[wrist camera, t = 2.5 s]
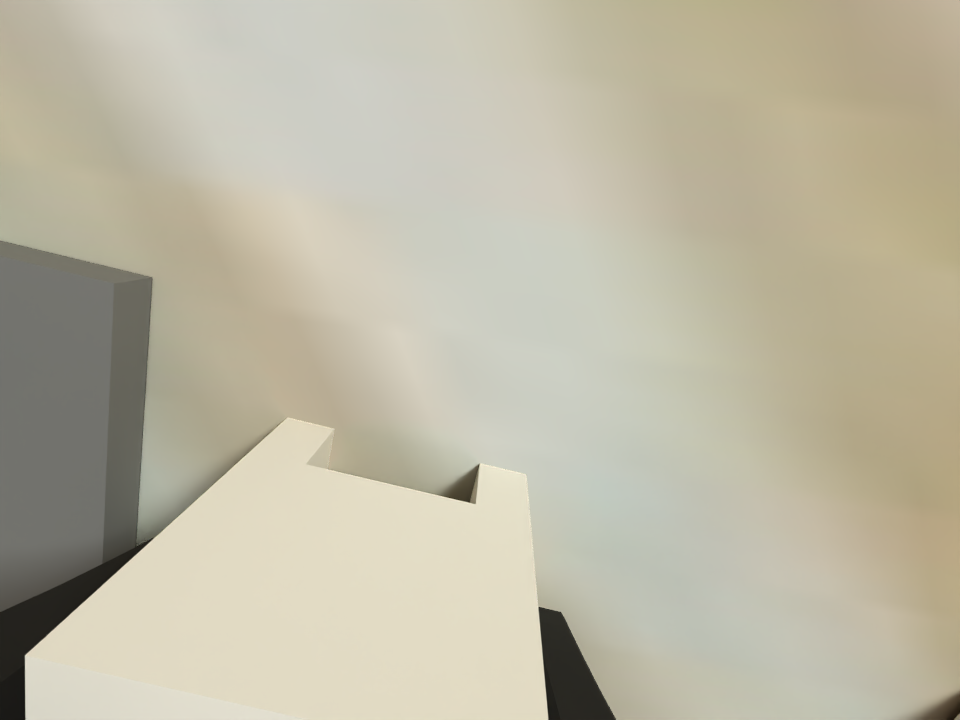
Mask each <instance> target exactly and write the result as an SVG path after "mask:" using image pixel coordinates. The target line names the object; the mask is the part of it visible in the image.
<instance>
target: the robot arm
mask: <svg viewBox="0 0 960 720" xmlns="http://www.w3.org/2000/svg"><path fill="white" fill-rule="evenodd" d="M153 539H154V538H153ZM153 539H151V540H149V541H147V542H145V543H143V544H141V545H139V546H137V547H135V548H133V549H131V550H129V551H127V552H125V553H123V554H121V555H119V556H117V557H115V558H113V559H111V560H109V561H107V562H105V563H103V564H101V565H99V566H97V567H95V568H93V569H91V570H89V571H87V572H85V573H83V574H81V575H79V576H77V577H75V578H73V579H71V580H69V581H67V582H65V583H63V584H61V585H58V586H56V587H54V588H52V589H50V590H48V591H45V592H43V593H41V594H39V595H37V596H34V597H32V598H30V599H28V600H26V601H23V602H21V603H19V604H17V605H15V606H12V607H10V608H8V609H6V610H3V611H1V612H0V720H25V655H26V654H27V653H28V652H29V651H31V650H32V649H33V648H34V647H35V646H36V645H37V644H38V643H39V642H40V641H42V640H43V639H44V638H45V637H46V636H47V635H48V634H49V633H50V632H51V631H53V630H54V629H55V628H56V627H57V626H58V625H59V624H60V623H61V622H62V621H64V620H65V619H66V618H67V617H68V616H69V615H70V614H71V613H72V612H74V611H75V610H76V609H77V608H78V607H79V606H80V605H81V604H82V603H83V602H85V601H86V600H87V599H88V598H89V597H90V596H91V595H92V594H93V593H94V592H96V591H97V590H98V589H99V588H100V587H101V586H102V585H103V584H104V583H105V582H107V581H108V580H109V579H110V578H111V577H112V576H113V575H114V574H115V573H117V572H118V571H119V570H120V569H121V568H122V567H123V566H124V565H125V564H126V563H128V562H129V561H130V560H131V559H132V558H133V557H134V556H135V555H136V554H137V553H139V552H140V551H141V550H142V549H143V548H144V547H145V546H146V545H147V544H148V543H150V542H151V541H152V540H153ZM538 609H539V621H540V632H541V643H542V654H543V665H544V676H545V688H546V699H547V710H548V720H616V718H615V717H614V715H613V713H612V711H611V709H610V707H609V706H608V704H607V702H606V700H605V698H604V696H603V695H602V693H601V691H600V689H599V687H598V685H597V683H596V681H595V679H594V677H593V675H592V673H591V671H590V669H589V667H588V665H587V663H586V661H585V660H584V657H583V655H582V653H581V651H580V649H579V647H578V645H577V643H576V641H575V639H574V637H573V635H572V633H571V631H570V629H569V627H568V625H567V622H566V620H565V618H564V617H563V615H562V613H561V612H558V611H554V610H549V609H545V608H541V607H538Z"/></svg>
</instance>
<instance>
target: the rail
mask: <svg viewBox="0 0 960 720" xmlns="http://www.w3.org/2000/svg"><path fill="white" fill-rule="evenodd" d="M151 290H152V277H148V276H144V275H140V274H136V273H132V272H128V271H123V270H119V269H115V268H111V267H107V266H103V265H99V264H94V263H90V262H86V261H82V260H78V259H74V258H70V257H66V256H61V255H57V254H53V253H49V252H45V251H41V250H37V249H32V248H28V247H24V246H20V245H16V244H12V243H8V242H3V241H0V612H1V611H3V610H6V609H8V608H10V607H12V606H15V605H17V604H19V603H21V602H23V601H26V600H28V599H30V598H32V597H34V596H37V595H39V594H41V593H43V592H45V591H48V590H50V589H52V588H54V587H56V586H58V585H61V584H63V583H65V582H67V581H69V580H71V579H73V578H75V577H77V576H79V575H81V574H83V573H85V572H87V571H89V570H91V569H93V568H95V567H97V566H99V565H101V564H103V563H105V562H107V561H109V560H111V559H113V558H115V557H117V556H119V555H121V554H123V553H125V552H127V551H129V550H131V549H133V548H135V547H136V531H137V515H138V499H139V483H140V467H141V451H142V435H143V419H144V402H145V386H146V370H147V354H148V338H149V322H150V306H151Z"/></svg>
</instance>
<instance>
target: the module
mask: <svg viewBox="0 0 960 720" xmlns="http://www.w3.org/2000/svg"><path fill="white" fill-rule="evenodd" d="M333 435H334V428H330V427H325V426H321V425H317V424H313V423H309V422H304V421H300V420H296V419H292V418H288V417H287V418H286V419H285V420H284V421H283V422H282V423H281V424H280V425H279V426H277V427H276V428H275V429H274V430H273V431H272V432H271V433H270V434H269V435H268V436H266V437H265V438H264V439H263V440H262V441H261V442H260V443H259V444H258V445H257V446H255V447H254V448H253V449H252V450H251V451H250V452H249V453H248V454H247V455H246V456H244V457H243V458H242V459H241V460H240V461H239V462H238V463H237V464H236V465H234V466H233V467H232V468H231V469H230V470H229V471H228V472H227V473H226V474H225V475H223V476H222V477H221V478H220V479H219V480H218V481H217V482H216V483H215V484H214V485H212V486H211V487H210V488H209V489H208V490H207V491H206V492H205V493H204V494H203V495H201V496H200V497H199V498H198V499H197V500H196V501H195V502H194V503H193V504H191V505H190V506H189V507H188V508H187V509H186V510H185V511H184V512H183V513H182V514H180V515H179V516H178V517H177V518H176V519H175V520H174V521H173V522H172V523H171V524H169V525H168V526H167V527H166V528H165V529H164V530H163V531H162V532H161V533H160V534H158V535H157V536H156V537H155V538H154V539H153V540H152V541H151V542H150V543H148V544H147V545H146V546H145V547H144V548H143V549H142V550H141V551H140V552H139V553H137V554H136V555H135V556H134V557H133V558H132V559H131V560H130V561H129V562H128V563H126V564H125V565H124V566H123V567H122V568H121V569H120V570H119V571H118V572H117V573H115V574H114V575H113V576H112V577H111V578H110V579H109V580H108V581H107V582H105V583H104V584H103V585H102V586H101V587H100V588H99V589H98V590H97V591H96V592H94V593H93V594H92V595H91V596H90V597H89V598H88V599H87V600H86V601H85V602H83V603H82V604H81V605H80V606H79V607H78V608H77V609H76V610H75V611H74V612H72V613H71V614H70V615H69V616H68V617H67V618H66V619H65V620H64V621H62V622H61V623H60V624H59V625H58V626H57V627H56V628H55V629H54V630H53V631H51V632H50V633H49V634H48V635H47V636H46V637H45V638H44V639H43V640H42V641H40V642H39V643H38V644H37V645H36V646H35V647H34V648H33V649H32V650H31V651H29V652H28V653H27V654H26V655H25V720H548V710H547V699H546V688H545V676H544V665H543V654H542V643H541V632H540V621H539V609H538V598H537V587H536V576H535V565H534V553H533V542H532V531H531V520H530V509H529V498H528V486H527V475H526V474H523V473H519V472H515V471H511V470H506V469H502V468H498V467H494V466H489V465H485V464H481V463H480V465H479V469H478V472H477V476H476V480H475V484H474V488H473V491H472V495H471V499H470V503H468V502H464V501H460V500H455V499H451V498H447V497H443V496H439V495H434V494H430V493H426V492H422V491H417V490H413V489H409V488H405V487H400V486H396V485H392V484H388V483H383V482H379V481H375V480H371V479H367V478H362V477H358V476H354V475H350V474H345V473H341V472H337V471H333V470H328V464H329V458H330V453H331V447H332V441H333Z"/></svg>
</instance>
